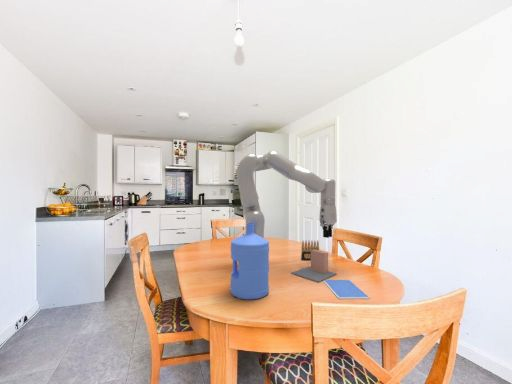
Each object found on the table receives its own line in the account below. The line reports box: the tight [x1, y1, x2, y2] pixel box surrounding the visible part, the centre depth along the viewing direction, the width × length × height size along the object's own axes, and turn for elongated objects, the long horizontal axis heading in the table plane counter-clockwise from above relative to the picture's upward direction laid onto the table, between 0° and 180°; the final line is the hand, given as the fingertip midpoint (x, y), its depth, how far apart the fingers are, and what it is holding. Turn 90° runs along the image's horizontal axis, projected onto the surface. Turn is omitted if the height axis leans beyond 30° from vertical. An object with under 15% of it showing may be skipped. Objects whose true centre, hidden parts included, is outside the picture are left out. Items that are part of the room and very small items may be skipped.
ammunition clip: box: [300, 239, 320, 262], centre depth 149 cm, size 11×2×12 cm, turn 90°
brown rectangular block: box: [310, 249, 329, 274], centre depth 127 cm, size 4×8×10 cm, turn 43°
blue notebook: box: [323, 279, 370, 300], centre depth 105 cm, size 19×13×1 cm, turn 2°
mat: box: [290, 265, 337, 283], centre depth 123 cm, size 16×16×1 cm
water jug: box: [229, 222, 270, 300], centre depth 101 cm, size 16×16×28 cm
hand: (327, 236), depth 132 cm, fingers closed
